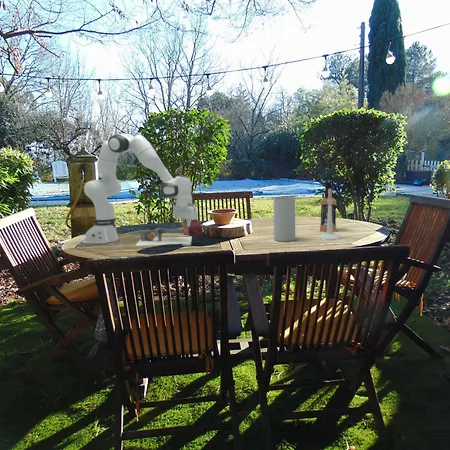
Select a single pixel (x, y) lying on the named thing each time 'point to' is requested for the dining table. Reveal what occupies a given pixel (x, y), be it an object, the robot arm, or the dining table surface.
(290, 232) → the cylinder vase
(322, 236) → the candlestick
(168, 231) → the lever
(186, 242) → the board
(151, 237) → the brown ball
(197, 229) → the vegetable
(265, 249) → the dining table surface
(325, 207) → the whiskey bottle
